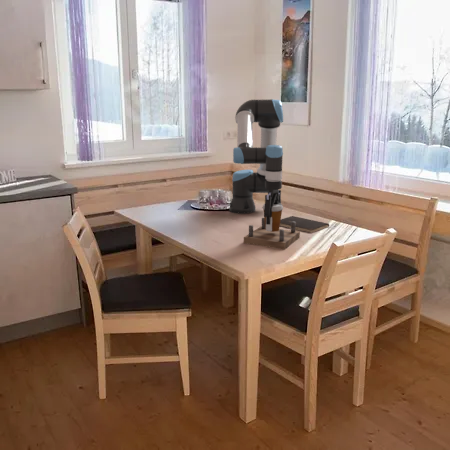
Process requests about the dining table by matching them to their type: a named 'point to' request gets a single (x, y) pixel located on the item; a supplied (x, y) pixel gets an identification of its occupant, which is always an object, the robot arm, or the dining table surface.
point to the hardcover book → (303, 224)
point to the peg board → (272, 237)
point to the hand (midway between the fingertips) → (272, 228)
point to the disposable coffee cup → (275, 216)
